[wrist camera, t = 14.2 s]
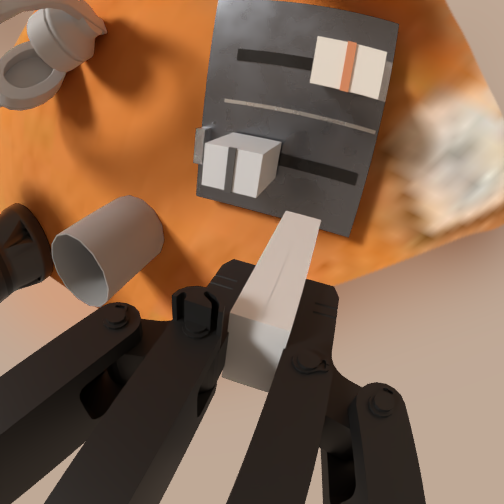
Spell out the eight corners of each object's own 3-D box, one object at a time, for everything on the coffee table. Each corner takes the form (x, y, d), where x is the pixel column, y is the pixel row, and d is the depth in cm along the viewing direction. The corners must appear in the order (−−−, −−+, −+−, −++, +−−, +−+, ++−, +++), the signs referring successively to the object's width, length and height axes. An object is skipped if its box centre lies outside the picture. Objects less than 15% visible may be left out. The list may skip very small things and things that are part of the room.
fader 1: (229, 167, 25) (200, 185, 21) (233, 131, 24) (204, 142, 19) (275, 178, 25) (255, 199, 20) (281, 141, 23) (262, 154, 19)
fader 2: (319, 85, 20) (309, 83, 16) (326, 47, 18) (317, 34, 14) (373, 99, 19) (377, 100, 15) (380, 60, 17) (387, 51, 13)
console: (205, 189, 30) (189, 200, 27) (228, 4, 20) (212, -5, 18) (349, 227, 27) (347, 243, 24) (396, 29, 17) (401, 20, 15)
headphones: (47, 117, 32) (-82, 168, 15) (32, 71, 29) (-93, 106, 13) (143, 32, 23) (-50, 39, 7) (122, -20, 20) (-47, -33, 4)
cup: (155, 271, 38) (105, 320, 29) (106, 237, 38) (52, 277, 30) (171, 217, 33) (112, 263, 25) (115, 183, 33) (51, 218, 25)
